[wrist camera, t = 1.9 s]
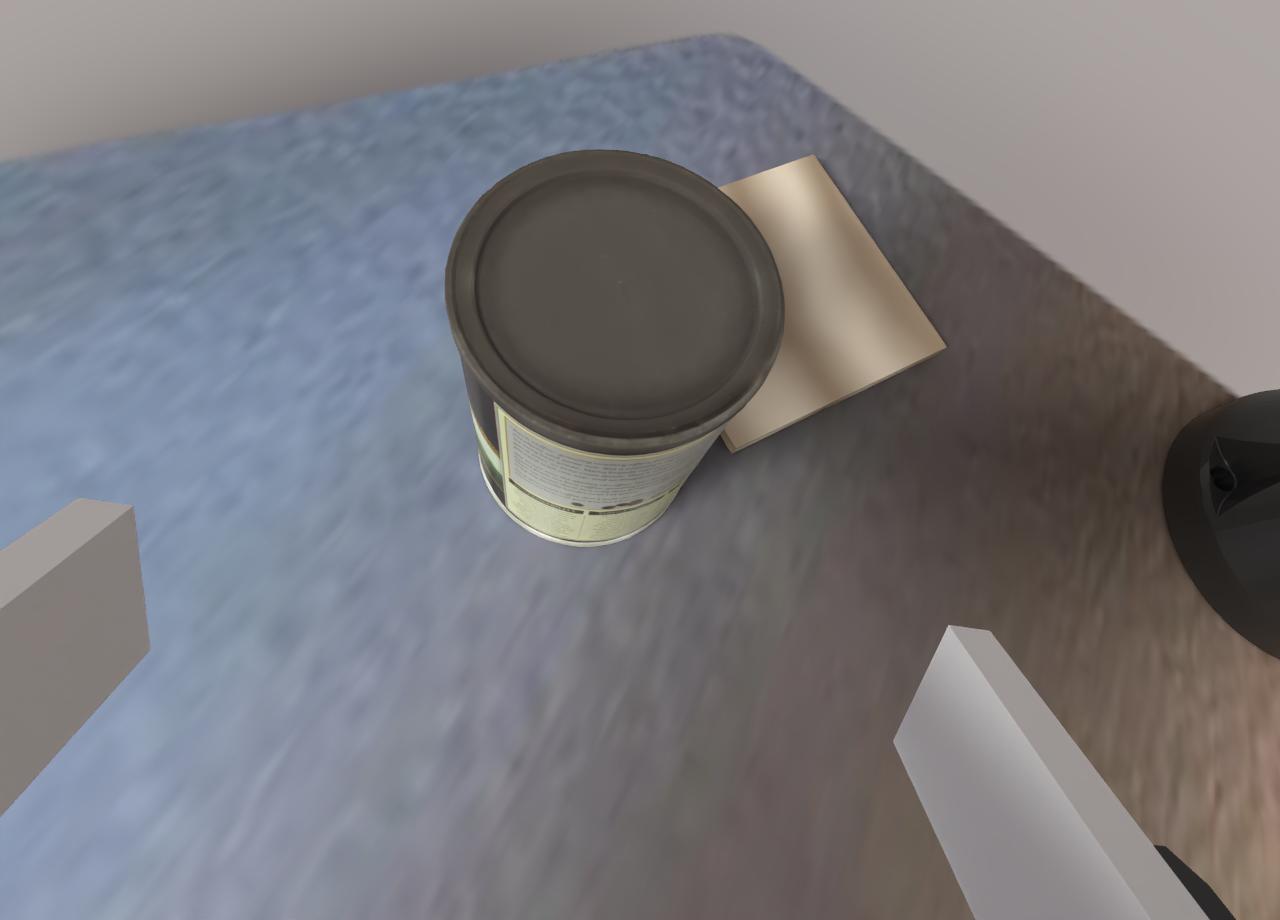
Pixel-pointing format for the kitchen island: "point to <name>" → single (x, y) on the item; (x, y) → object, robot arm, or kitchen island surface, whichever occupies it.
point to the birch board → (824, 302)
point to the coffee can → (606, 335)
